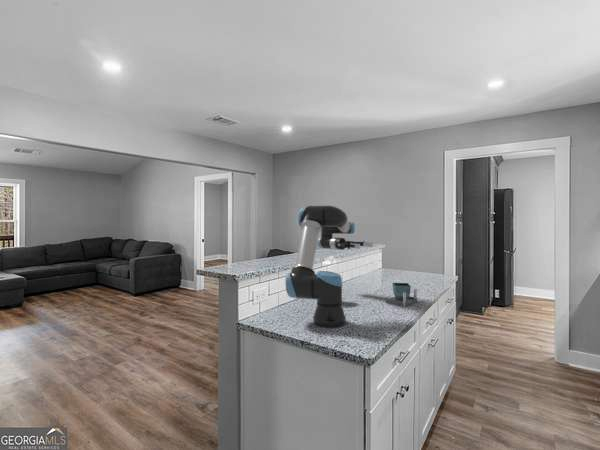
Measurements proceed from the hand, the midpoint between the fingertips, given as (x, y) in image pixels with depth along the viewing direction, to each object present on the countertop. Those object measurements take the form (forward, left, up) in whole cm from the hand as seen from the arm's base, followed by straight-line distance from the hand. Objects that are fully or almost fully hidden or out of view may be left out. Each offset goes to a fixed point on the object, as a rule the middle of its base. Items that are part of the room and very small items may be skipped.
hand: (366, 245), depth 195 cm
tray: (+6, -20, -32) cm, 38 cm away
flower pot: (+6, -20, -31) cm, 37 cm away
